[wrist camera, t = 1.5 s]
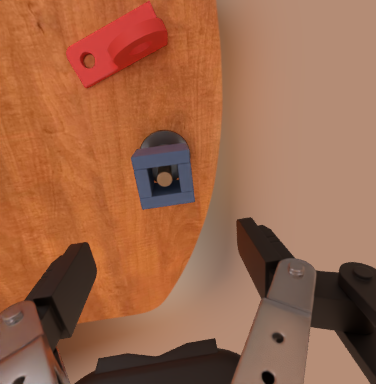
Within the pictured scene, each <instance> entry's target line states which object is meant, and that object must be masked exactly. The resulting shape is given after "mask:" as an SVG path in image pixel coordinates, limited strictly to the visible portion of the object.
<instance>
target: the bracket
mask: <svg viewBox="0 0 376 384" xmlns="http://www.w3.org/2000/svg"><path fill="white" fill-rule="evenodd" d="M167 37H168V33H167V30H166V28H165V26H164V23H163V21H162V20H161V19H159V18H157V17H156V15H155V12H154V10H153V8H152V6H151V3H150V1H148V2H146V3H144V4H143V5H141V6H139V7H137V8H136V9H134V10H132V11H130V12H129V13H127V14H125V15H123V16H122V17H120V18H118V19H116V20H115V21H113V22H111V23H109V24H108V25H106V26H104V27H102V28H101V29H99V30H97V31H95V32H94V33H92V34H90V35H88V36H87V37H85V38H83V39H81V40H80V41H78V42H76V43H74V44H73V45H71V46H69V47H68V49H67V51H66V56H67V59H68V61H69V62H70V64H71V66H72V67H73V69H74V70H75V72H76V74H77V75H78V77H79V79H80V80H81V82H82V84H83V85H84V87H85V88H89V87H91V86H93V85H94V84H96V83H98V82H100V81H102V80H104V79H105V78H107V77H109V76H111V75H113V74H115V73H116V72H118V71H120V70H122V69H124V68H125V67H127V66H129V65H131V64H133V63H135V62H136V61H138V60H140V59H142V58H144V57H145V56H147V55H149V54H151V53H153V52H155V51H156V50H158V49H160V48H162V47H164V46H165V45H167ZM87 54H92V55H93V56H94V58H95V65H94V67H92V68H86V67H85V65H84V63H83V58H84V56H85V55H87Z"/></svg>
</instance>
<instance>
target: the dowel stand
mask: <svg viewBox="0 0 376 384" xmlns="http://www.w3.org/2000/svg"><path fill="white" fill-rule="evenodd" d="M179 143H185V144H186V146H187V147H188V145H187V143H186V141H185V140H184V139H183V138H182V137H181V136H180V135H179V134H177V133H175V132H173V131H169V130H160V131H156V132H154V133H152V134H150V135H149V136H148V137H147V138H146V139H145V140H144V141H143V143H142V145H141V147H140V149H142V148H149V147H157V146H164V145H172V144H179ZM188 149H189V147H188ZM189 155H190V150H189ZM152 172H153V178H154V180H155V181H156V182H158V184H159V185H161V186H164V187H166V186H169V185H170V184H171V183H172V181H173V180H176V179H177V178H178V177H179V176H178V169H177V164H175V165H168V166H161V167H154V168H152Z"/></svg>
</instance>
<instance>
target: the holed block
mask: <svg viewBox="0 0 376 384" xmlns="http://www.w3.org/2000/svg"><path fill="white" fill-rule="evenodd" d="M131 160H132V165H133V169H134V174H135V179H136V183H137V188H138V193H139V197H140V202H141V206H142V209H143V210H144V209H150V208H157V207H164V206H171V205H177V204H184V203H191V202H195V197H194V188H193V180H192V171H191V163H190V155H189V149H188V147H187V146H186V144H185V143H179V144H172V145H164V146H157V147H149V148H142V149H137V150H136V151H135V153H134V154H133V156H132V157H131ZM175 164H177V169H178V176H179V180H173V181H172V183H171V184H170V185H169V186H166V187H164V186H161V185H159V184H158V183H154V178H153V172H152V168H154V167H161V166H168V165H175Z"/></svg>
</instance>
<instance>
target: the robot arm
mask: <svg viewBox="0 0 376 384" xmlns="http://www.w3.org/2000/svg"><path fill="white" fill-rule="evenodd" d="M237 245H238V250H239V254H240V256H241V258H242V260H243V262H244V264H245V266H246V268H247V270H248V272H249V274H250V276H251V278H252V280H253V282H254V284H255V287H256V288H257V290H258V293H259V295H260V297H261V302H260V305H259V308H258V310H257V313H256V316H255V319H254V321H253V324H252V327H251V329H250V332H249V335H248V338H247V340H246V343H245V346H244V349H243V351H242V354H241V355H239V354H237V353H234V352H231V351H229V350H225V349H219V348H217V345H216V340H215V338H214V339H208V340H202V341H197V342H191V343H186V344H184V345H182V346H180V347H177V348H175V349H173V350H171V351H169V352H166V353H164V354H162V355H160V356H146V355H137V354H121V355H116V356H110V357H104V358H99V359H98V363H97V366H96V370H95V371H93V372H91V373H90V374H88V375H86V376H84V377H83V378H82V379H80V380H79V381H77V382H76V383H75V384H303V383H304V375H305V366H306V359H307V350H308V342H309V334H310V333H309V332H310V327H314V328H321V329H328V330H335V332H336V333H337V335H338V336H339V338H340V339H341V341H342V342H343V344H344V345H345V347H346V348H347V350H348V351H349V353H350V354H351V355H352V357H353V358H354V360H355V361H356V363H357V364H358V366H359V367H360V369H361V370H362V372H363V373H364V375H365V376H366V377H367V379H368V381H369V382H370V384H376V269H375V268H373V267H371V266H368V265H365V264H362V263H356V262H348V263H344V264H342V265H341V266H340V269H339V273H336V272H324V271H316V270H315V269H314V267H313V266H312V265H311V264H309V263H307V262H306V261H303V260H300V259H296V258H294V257H293V255H292V254H291V253H290V252H289V251H288V249H287V248H286V247H285V246H284V245H283V243H282V242H280V240H279V239H278V238H277V237H276V235H275V234H274V233H273V232H272V230H271V229H269V228H267V227H265V226H263V225H259V226H257V224H256V223H255V222H254V220H253V219H252V218H251V217H250V218H243V219H238V220H237ZM96 274H97V268H96V264H95V261H94V258H93V255H92V252H91V250H90V247H89V244H88V243H87V242H83V243H77V244H71V245H70V246H69V247H68V249H67V250H66V252H65V253H64V254H63V255H61V256H60V257H58V258H57V259H56V260H55V261H54V262H52V263H51V265H50V266H49V267H48V269H47V270H46V272H45V273H44V274H43V276H42V277H41V279H40V280H39V281H38V282H37V284H36V285H35V286H34V288H33V289H32V291H31V292H30V293H29V295H28V296H27V297H26V299H25V300H24V301H21V302H18V303H16V304H14V305H12V306H10V307H8V308H7V309H5V310H4V311H3V312H1V313H0V384H70V382H69V379H68V376H67V373H66V370H65V367H64V364H63V361H62V359H61V356H60V353H59V350H58V348H57V343H58V341H59V339H64V338H70V337H71V336H72V334H73V331H74V329H75V327H76V324H77V322H78V319H79V317H80V315H81V312H82V310H83V307H84V305H85V303H86V300H87V298H88V295H89V293H90V291H91V288H92V286H93V283H94V281H95V278H96Z"/></svg>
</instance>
